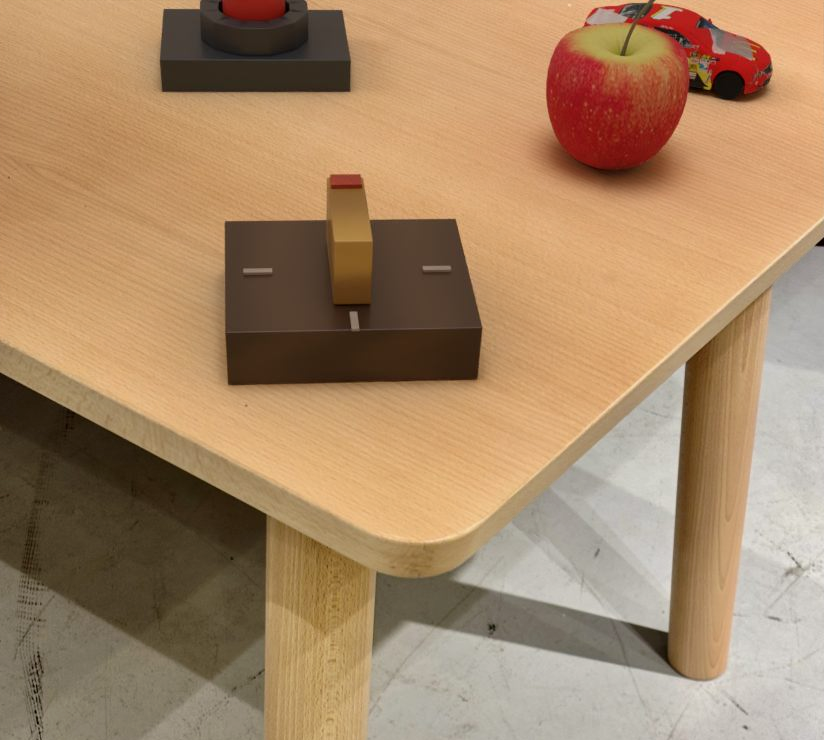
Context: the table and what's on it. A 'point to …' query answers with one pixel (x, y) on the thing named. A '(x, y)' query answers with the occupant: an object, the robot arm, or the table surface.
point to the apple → (616, 92)
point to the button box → (254, 51)
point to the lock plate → (348, 306)
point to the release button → (254, 9)
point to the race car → (700, 47)
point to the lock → (349, 239)
